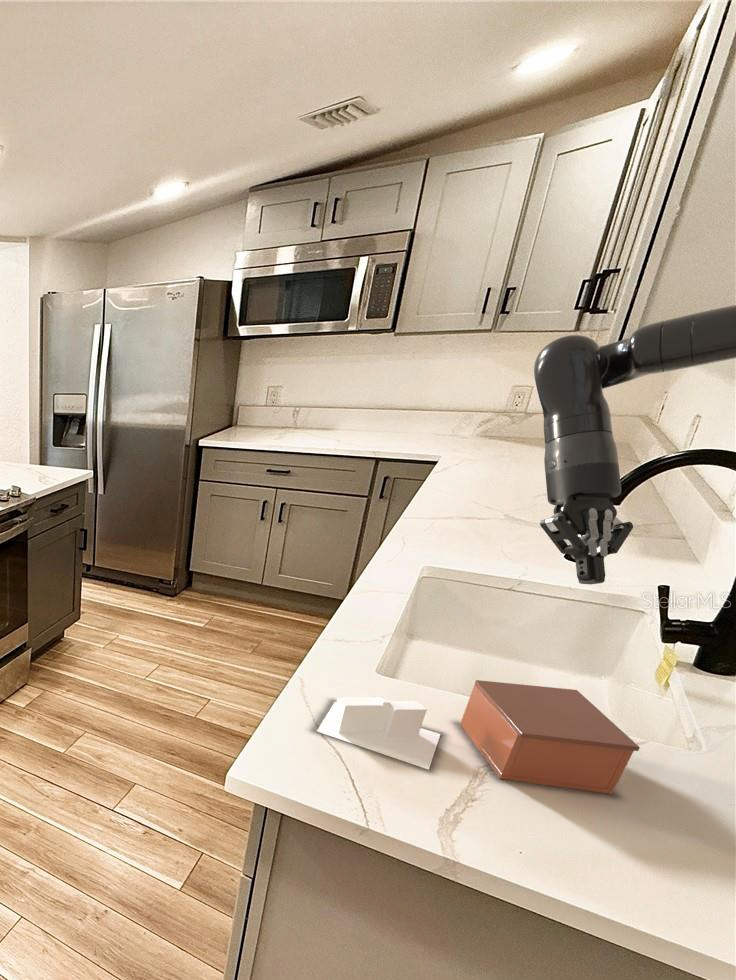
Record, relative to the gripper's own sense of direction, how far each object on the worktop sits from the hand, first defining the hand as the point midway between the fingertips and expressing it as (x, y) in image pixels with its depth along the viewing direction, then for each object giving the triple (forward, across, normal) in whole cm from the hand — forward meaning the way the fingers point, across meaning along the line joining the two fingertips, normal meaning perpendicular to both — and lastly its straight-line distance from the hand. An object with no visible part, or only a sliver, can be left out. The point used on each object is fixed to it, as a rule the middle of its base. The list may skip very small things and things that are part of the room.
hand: (592, 583), depth 89 cm
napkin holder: (+24, -21, +16) cm, 35 cm away
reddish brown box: (+26, -4, +8) cm, 27 cm away
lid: (+19, -5, +3) cm, 20 cm away
